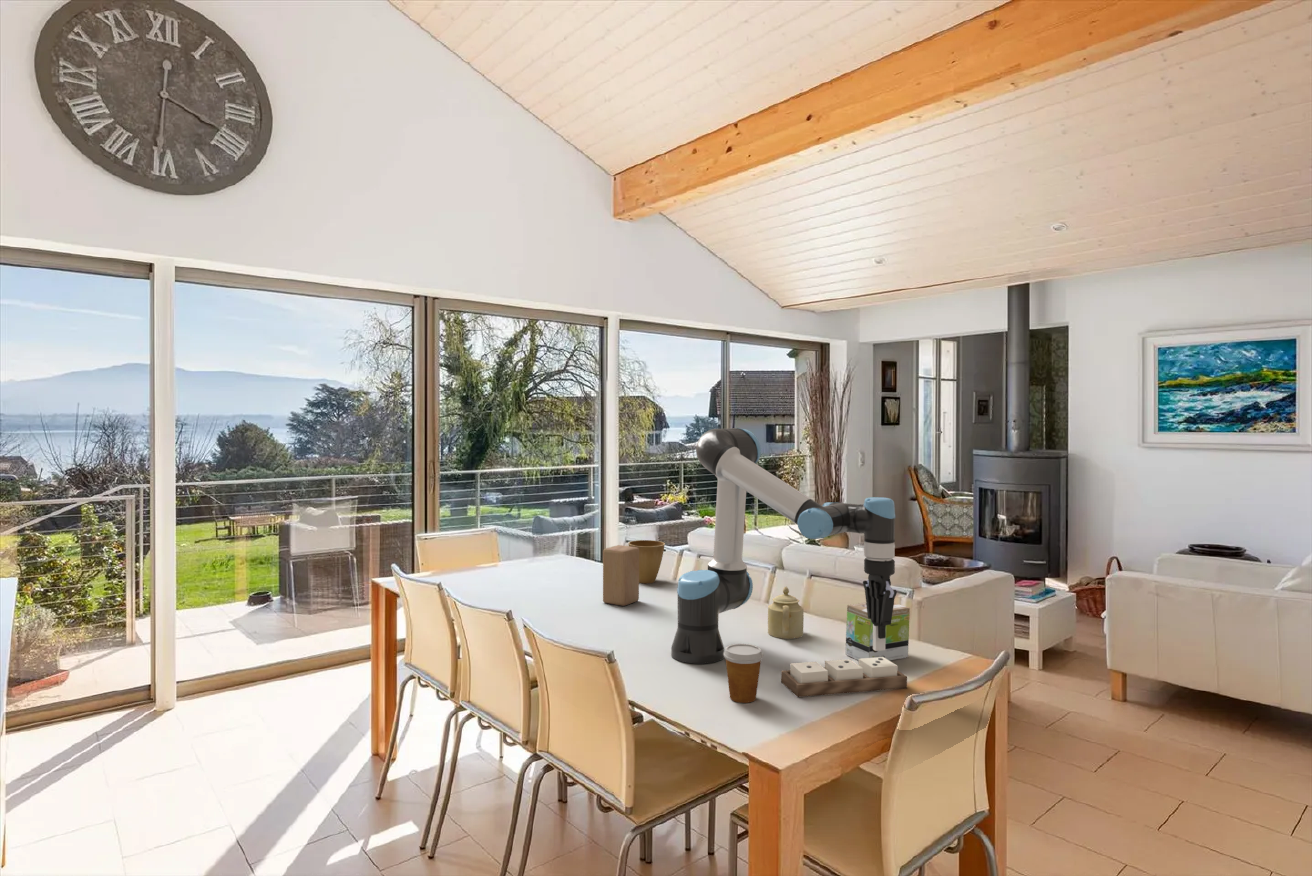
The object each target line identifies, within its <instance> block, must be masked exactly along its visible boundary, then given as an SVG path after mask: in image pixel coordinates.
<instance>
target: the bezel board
mask: <svg viewBox="0 0 1312 876" xmlns="http://www.w3.org/2000/svg"><path fill="white" fill-rule="evenodd" d="M824 668H825V666H824ZM780 676H781V677H780V679H781V681H780V682H781V684H783V685H784V687H786V688H787V689H788V691H790V692H791V693H792V694H793V695H794V696H796V697H797V698H803V697H804V698H807V697H819V696H820V697H821V696H831V695H842V694H844V695H845V694H853V693H854V694H855V693H856V694H857V693H867V692H879V691H890V690H891V691H892V690H903V689H904V690H905V689H908V676H907V675H905V674H904V673H902V672H901V671H899V670H897V676H889V677H876V678H870V677H869V676H867V675H866V674H864V673H863V679H850V680H837V681H836V680H834V679H833V678H832V677H830V676H829V675H828V681H824V682H812V683H799V682H798V681H797V680H795V679H794V678H793V677H792V676H791V675H790V669H786V670H781V671H780Z"/></svg>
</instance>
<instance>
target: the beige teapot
mask: <svg viewBox="0 0 1312 876" xmlns="http://www.w3.org/2000/svg"><path fill="white" fill-rule="evenodd" d="M782 593H783V594H779V595H776V596H775V597H773V598H772V603H771V604H769V605H768V606H767V633H768V635H769V636H771V637H773V638H777V639H784V640H785V639H786V640H790V639H793V640H794V638H795V639H799V638H802V637H803V636H804V613H805V612H804V607H803V606H802V605H800V604H799V602H800V600H799V599H798V598H796V597H795V596H794V595H790V594H789V593H790V589H789V588H788V586H784V587H783V589H782Z"/></svg>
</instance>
